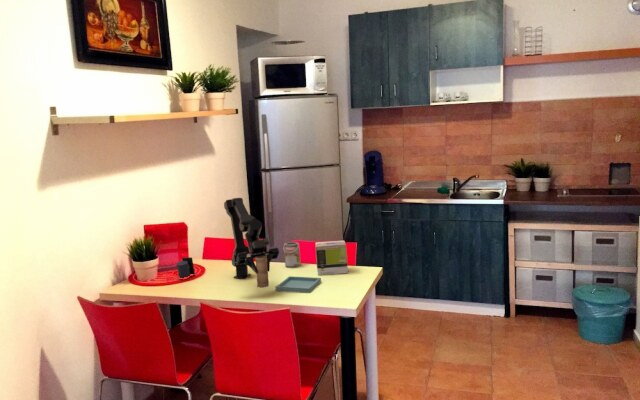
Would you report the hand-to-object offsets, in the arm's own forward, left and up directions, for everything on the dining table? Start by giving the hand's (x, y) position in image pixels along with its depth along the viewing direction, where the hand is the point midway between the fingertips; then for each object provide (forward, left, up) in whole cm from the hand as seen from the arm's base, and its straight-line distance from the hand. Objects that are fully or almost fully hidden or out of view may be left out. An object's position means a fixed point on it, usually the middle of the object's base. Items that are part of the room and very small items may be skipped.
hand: (263, 272), depth 239 cm
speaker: (-19, -52, -11) cm, 56 cm away
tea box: (-41, +18, -11) cm, 46 cm away
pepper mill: (-1, -1, -7) cm, 7 cm away
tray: (-16, +10, -11) cm, 21 cm away
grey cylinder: (-48, -6, -11) cm, 49 cm away
